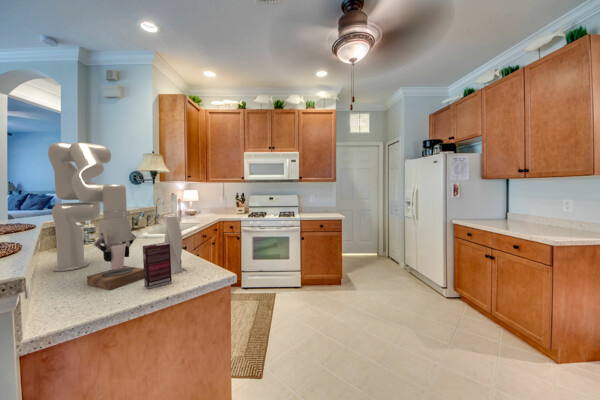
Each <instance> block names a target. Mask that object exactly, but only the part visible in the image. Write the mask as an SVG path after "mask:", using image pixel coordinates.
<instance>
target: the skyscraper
mask: <svg viewBox="0 0 600 400" xmlns="http://www.w3.org/2000/svg"><path fill="white" fill-rule="evenodd" d="M177 213H179V215H177ZM163 219H164V222H165V223H164V224H165V232H164V242H167V243H169V244H170V257H171V275H175V274H179V273H182V272H187V271H188V270H187V269H185V268H183V267H182V252H183V234H182V228H181V226H180V223H181V220H182V213H181V212H180V211H179V210H176V211H175V212H174V213H171V214H165V215H163Z"/></svg>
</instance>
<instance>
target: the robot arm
mask: <svg viewBox="0 0 600 400" xmlns="http://www.w3.org/2000/svg"><path fill="white" fill-rule="evenodd" d="M47 156H48V159H49V163H50V165H51V166H52V169H53V174H54V192H55V196H56V198H57V199H59V200H62V201H63V200H64V201H77V200H78V201H80V202H63V203H58V204H56V205H54V206H53V207H52V209H51V217H52V219H53V223H54V230H55V240H56V243H55V244H56V245H55V246H56V265H55V266H54V267H52V271H53V272H67V271H73V270H79V269H82V268H85V267H88V265H89V261H85V249H84V248H85V247H84V245H85V244H84V230H83V228H82V227H81V226H79V225H78V223H80V222H90V221H96V220H97V219H99V218H100V216H101V215H100V214H101V206H100V205H101V203H102V211H103V212H102V215H103V218H101V219H100V222H99V227H98V238H97V239H96V240H95V242H94V243H93V244H92V246H94V247H95V248H98V249H99V250H100V251H101V252H103V260H104V262H109V263H111V251H109V250H110V247H111V245H112V244H115V243H126V245H127V246H126V248H125V257H124V258H129V257H130V248H131V246H132V245H133V243H134V241H135V240H136V239H137V236H136V235H135V234H134V233H132V226H131V221H130V219H129V217H128V215H130V214H131V213H130V211H129V210H128V206H127V188H126V186H125V185H124V184H119V183H118V184H115V183H114V184H104V183H102V184H101V183H100V184H99V183H96V182H95V181H90V180H89V179H93V178H96V177H99V176H100V175H102V174H103V173H104V171H105V167H104V164H108V163H109V162H110V161H111V160H112V152H111V150H110V149H109V148H108V147H107V146H106V145H103V144H95V143H90V142H89V143H88V142H80V141H79V142H74V143H70V142H69V143H68V142H54V143H51V144H50V145H49V146H48V148H47ZM73 163H74V164H75V165H74V164H73Z"/></svg>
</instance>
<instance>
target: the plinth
mask: <svg viewBox="0 0 600 400" xmlns="http://www.w3.org/2000/svg"><path fill="white" fill-rule="evenodd" d="M86 278H87V279H86V281H87V287H88V286H89V287H95V288H99V289H103V290H108V291H113V290H115V289H117V288H120V287H121V288H122V287H123V286H126V285H129V284H132V283H134V282H138V281H141V280H144V268H141V267H135V266H128V265H123V268H121V269H112V268H110V269H108V270H104V271H101V272H97V273H95V274H91V275H87V276H86Z"/></svg>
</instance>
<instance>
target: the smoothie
mask: <svg viewBox="0 0 600 400" xmlns="http://www.w3.org/2000/svg"><path fill="white" fill-rule="evenodd" d="M126 246H127V245H126V243H122V242H120V243H115V244H112V245H111V247H110V250H109V251H111V262H110V267H111V269H121V268H123V266H125V265H124V263H125V258H126V257H125V248H126Z"/></svg>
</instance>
